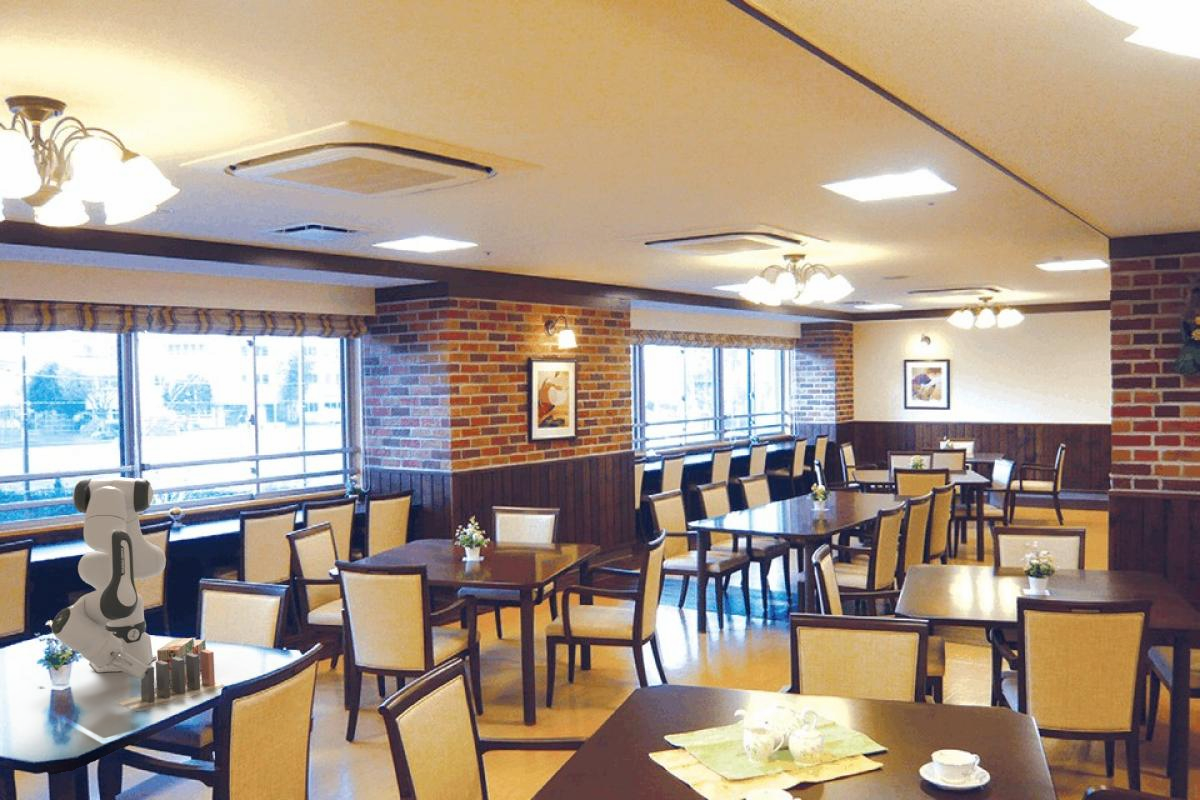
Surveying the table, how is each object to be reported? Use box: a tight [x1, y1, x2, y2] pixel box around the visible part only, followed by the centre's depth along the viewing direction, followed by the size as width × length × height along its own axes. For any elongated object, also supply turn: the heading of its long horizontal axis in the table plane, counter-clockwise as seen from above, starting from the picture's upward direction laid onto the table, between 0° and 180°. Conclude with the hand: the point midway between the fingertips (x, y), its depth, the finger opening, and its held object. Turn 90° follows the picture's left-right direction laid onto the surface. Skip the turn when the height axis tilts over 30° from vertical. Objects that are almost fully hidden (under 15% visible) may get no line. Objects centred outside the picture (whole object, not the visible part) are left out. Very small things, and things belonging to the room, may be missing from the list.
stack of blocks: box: [156, 637, 207, 686], centre depth 302 cm, size 21×6×12 cm, turn 1°
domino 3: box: [171, 657, 186, 695], centre depth 284 cm, size 2×5×10 cm, turn 49°
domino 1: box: [140, 664, 155, 703], centre depth 277 cm, size 2×5×10 cm, turn 49°
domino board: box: [117, 678, 224, 712], centre depth 282 cm, size 13×26×1 cm, turn 139°
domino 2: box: [155, 660, 171, 699], centre depth 280 cm, size 2×5×10 cm, turn 49°
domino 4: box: [186, 653, 201, 690], centre depth 287 cm, size 2×5×10 cm, turn 49°
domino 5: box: [200, 649, 216, 686], centre depth 291 cm, size 2×5×10 cm, turn 49°
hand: (142, 675), depth 276 cm, fingers closed
